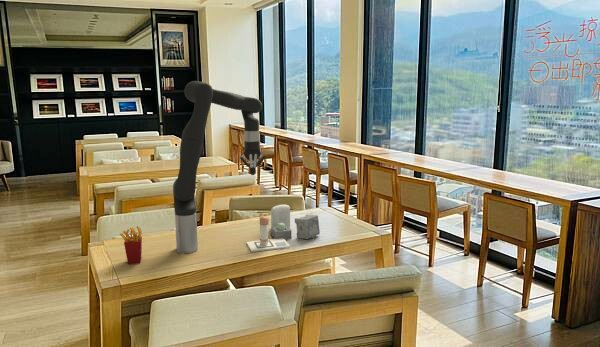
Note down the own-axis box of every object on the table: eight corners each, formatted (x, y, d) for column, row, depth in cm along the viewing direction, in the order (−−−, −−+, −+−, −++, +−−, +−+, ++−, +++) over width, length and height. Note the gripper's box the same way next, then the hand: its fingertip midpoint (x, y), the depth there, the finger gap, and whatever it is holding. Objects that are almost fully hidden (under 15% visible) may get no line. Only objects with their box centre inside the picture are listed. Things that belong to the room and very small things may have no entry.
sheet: (251, 252, 209) (251, 250, 209) (246, 243, 220) (246, 241, 219) (290, 247, 215) (290, 245, 214) (283, 239, 225) (283, 237, 225)
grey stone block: (307, 232, 235) (307, 212, 233) (320, 236, 230) (320, 215, 227) (294, 237, 228) (294, 216, 226) (306, 241, 223) (306, 220, 220)
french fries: (142, 264, 196) (139, 230, 193) (121, 265, 195) (118, 231, 191) (144, 256, 205) (142, 223, 202) (124, 257, 203) (121, 224, 200)
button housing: (275, 240, 224) (275, 232, 223) (271, 234, 232) (271, 226, 231) (291, 238, 227) (291, 230, 226) (286, 232, 234) (286, 225, 233)
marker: (261, 246, 214) (261, 219, 211) (258, 243, 217) (258, 216, 214) (269, 245, 216) (269, 218, 212) (266, 241, 219) (266, 215, 216)
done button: (278, 237, 227) (278, 225, 226) (277, 234, 230) (276, 223, 229) (285, 236, 228) (285, 224, 227) (283, 234, 231) (283, 222, 230)
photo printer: (287, 225, 246) (286, 202, 243) (291, 227, 242) (291, 204, 240) (269, 228, 240) (269, 205, 237) (274, 231, 237) (273, 207, 234)
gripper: (239, 141, 222) (240, 177, 225) (267, 140, 225) (267, 175, 229) (237, 139, 229) (238, 174, 232) (263, 138, 232) (264, 172, 236)
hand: (252, 174), depth 231 cm, fingers closed
